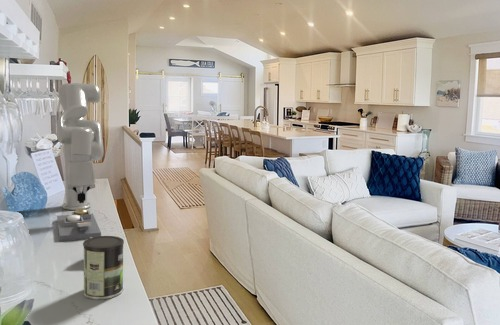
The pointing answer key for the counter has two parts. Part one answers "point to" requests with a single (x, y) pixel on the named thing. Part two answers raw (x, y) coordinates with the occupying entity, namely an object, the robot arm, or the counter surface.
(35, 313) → the counter surface
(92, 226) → the control panel
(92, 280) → the coffee can
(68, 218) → the white button
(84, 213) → the brass button
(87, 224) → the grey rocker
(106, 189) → the counter surface
